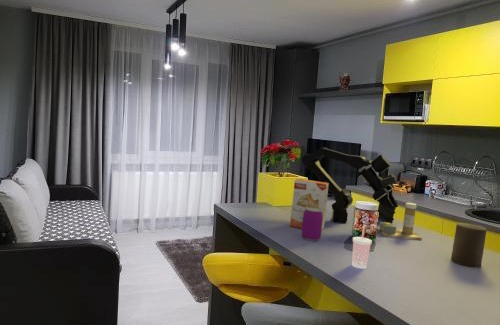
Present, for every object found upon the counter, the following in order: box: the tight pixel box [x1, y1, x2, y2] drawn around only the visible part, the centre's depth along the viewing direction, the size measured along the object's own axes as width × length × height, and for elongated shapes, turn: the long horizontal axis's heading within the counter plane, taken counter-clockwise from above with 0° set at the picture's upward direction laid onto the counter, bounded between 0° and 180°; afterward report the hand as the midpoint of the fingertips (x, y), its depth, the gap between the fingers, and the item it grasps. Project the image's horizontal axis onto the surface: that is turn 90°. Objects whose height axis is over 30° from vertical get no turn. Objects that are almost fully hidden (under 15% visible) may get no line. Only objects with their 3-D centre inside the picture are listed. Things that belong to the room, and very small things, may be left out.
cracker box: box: [289, 178, 329, 231], centre depth 173 cm, size 14×6×21 cm, turn 68°
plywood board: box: [376, 226, 423, 241], centre depth 177 cm, size 16×12×1 cm
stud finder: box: [379, 221, 397, 234], centre depth 177 cm, size 5×7×3 cm
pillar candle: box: [450, 222, 488, 268], centre depth 144 cm, size 10×10×15 cm
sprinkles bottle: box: [402, 202, 418, 234], centre depth 176 cm, size 5×5×14 cm
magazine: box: [377, 199, 399, 224], centre depth 202 cm, size 4×13×15 cm, turn 11°
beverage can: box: [301, 207, 323, 242], centre depth 158 cm, size 8×8×12 cm
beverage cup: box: [351, 224, 373, 269], centre depth 130 cm, size 6×6×14 cm
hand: (394, 207), depth 178 cm, fingers open, 9 cm apart
